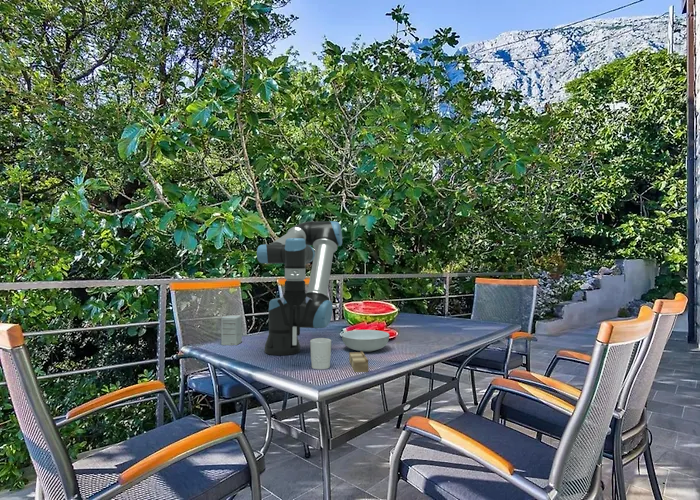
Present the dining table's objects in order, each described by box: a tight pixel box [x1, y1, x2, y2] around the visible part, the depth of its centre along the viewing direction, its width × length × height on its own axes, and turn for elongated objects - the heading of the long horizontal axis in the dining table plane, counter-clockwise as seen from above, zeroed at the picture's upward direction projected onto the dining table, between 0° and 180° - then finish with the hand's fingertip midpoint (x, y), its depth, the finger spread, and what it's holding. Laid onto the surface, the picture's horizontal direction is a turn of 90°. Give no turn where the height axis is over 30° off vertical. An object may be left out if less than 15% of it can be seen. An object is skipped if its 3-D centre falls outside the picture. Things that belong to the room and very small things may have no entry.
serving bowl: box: [341, 329, 390, 353], centre depth 188 cm, size 21×21×7 cm
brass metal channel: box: [348, 351, 369, 373], centre depth 160 cm, size 15×5×4 cm, turn 7°
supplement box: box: [220, 315, 243, 346], centre depth 199 cm, size 7×7×13 cm
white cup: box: [309, 337, 332, 370], centre depth 158 cm, size 8×8×10 cm
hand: (294, 344), depth 157 cm, fingers closed
